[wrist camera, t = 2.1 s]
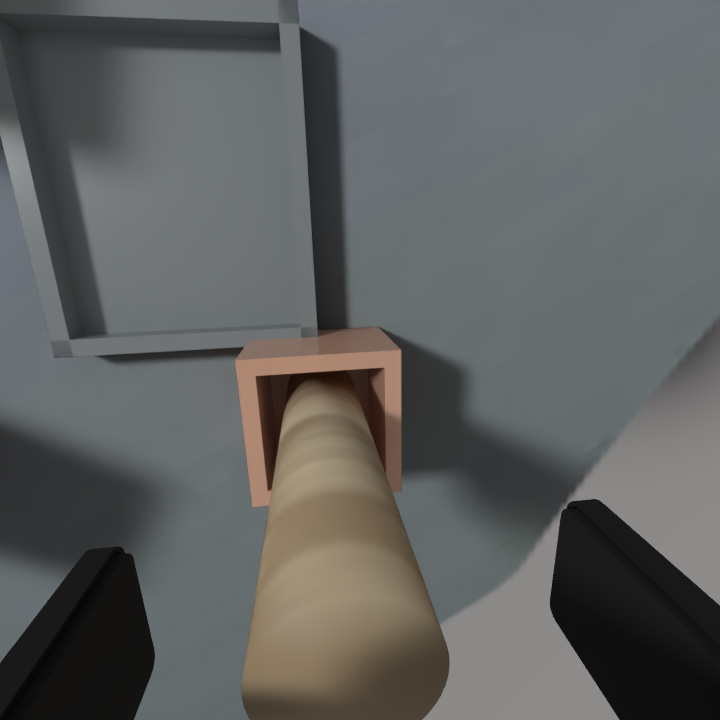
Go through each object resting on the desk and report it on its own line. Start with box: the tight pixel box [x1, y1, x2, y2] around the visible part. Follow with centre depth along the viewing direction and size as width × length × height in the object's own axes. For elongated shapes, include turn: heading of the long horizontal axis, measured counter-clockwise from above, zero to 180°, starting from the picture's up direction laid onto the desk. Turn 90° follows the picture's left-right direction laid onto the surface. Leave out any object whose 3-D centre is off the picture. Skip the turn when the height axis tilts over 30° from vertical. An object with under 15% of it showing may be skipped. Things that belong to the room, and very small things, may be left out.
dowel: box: [241, 370, 449, 720], centre depth 14 cm, size 4×4×15 cm
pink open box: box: [235, 327, 402, 507], centre depth 19 cm, size 7×7×6 cm
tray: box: [0, 0, 318, 358], centre depth 18 cm, size 14×12×2 cm
